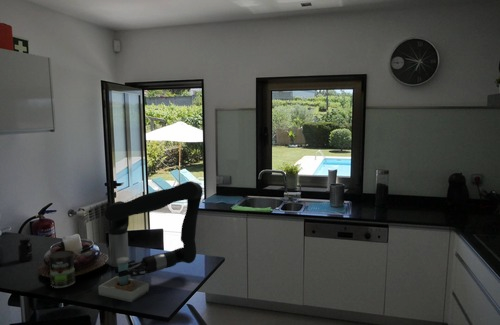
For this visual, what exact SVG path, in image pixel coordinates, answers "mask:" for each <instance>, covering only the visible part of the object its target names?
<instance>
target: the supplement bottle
mask: <svg viewBox="0 0 500 325" xmlns="http://www.w3.org/2000/svg"><path fill="white" fill-rule="evenodd" d="M17 255H18V256H17V257H18V262H19V263H29V262H30V261H33V259H34V251H33V243H32V242H31V237H22V238H20V239H19V244H18V245H17Z"/></svg>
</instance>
